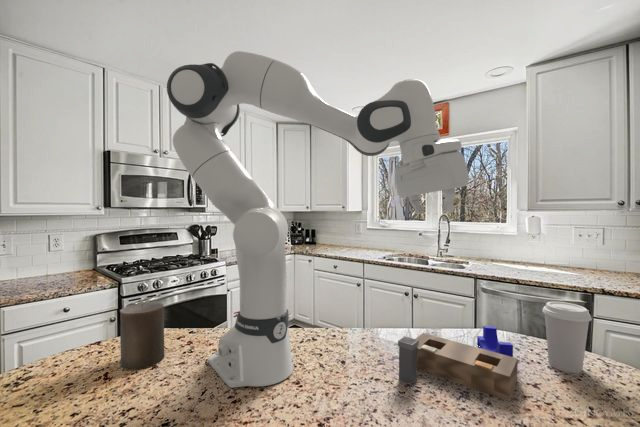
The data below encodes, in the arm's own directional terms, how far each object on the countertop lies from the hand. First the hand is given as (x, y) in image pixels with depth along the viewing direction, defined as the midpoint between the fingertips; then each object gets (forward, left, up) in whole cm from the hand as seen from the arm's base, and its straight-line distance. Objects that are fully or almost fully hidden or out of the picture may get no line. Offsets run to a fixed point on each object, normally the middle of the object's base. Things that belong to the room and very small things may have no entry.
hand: (433, 212), depth 70 cm
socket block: (+4, +7, -38) cm, 39 cm away
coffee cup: (+23, +27, -38) cm, 52 cm away
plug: (-4, -4, -38) cm, 39 cm away
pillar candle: (-59, -40, -38) cm, 81 cm away
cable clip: (+8, +21, -39) cm, 45 cm away
